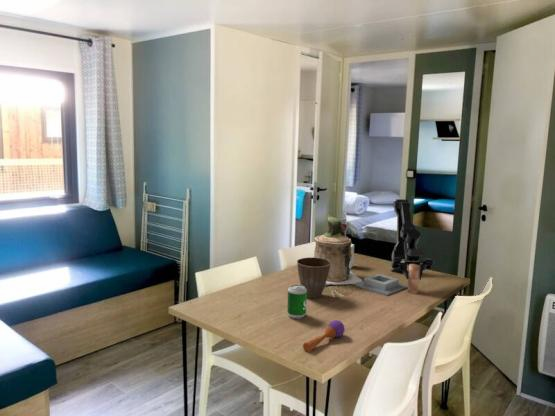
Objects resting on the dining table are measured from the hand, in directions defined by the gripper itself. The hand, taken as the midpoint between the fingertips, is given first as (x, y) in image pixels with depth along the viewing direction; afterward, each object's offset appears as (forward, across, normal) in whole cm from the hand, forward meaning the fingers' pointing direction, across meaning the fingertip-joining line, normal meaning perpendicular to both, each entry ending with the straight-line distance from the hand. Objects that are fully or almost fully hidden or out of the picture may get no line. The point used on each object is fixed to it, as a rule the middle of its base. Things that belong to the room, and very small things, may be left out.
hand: (414, 279), depth 211 cm
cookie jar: (-8, -37, +18) cm, 42 cm away
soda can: (+29, -53, -20) cm, 64 cm away
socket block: (0, -14, +10) cm, 17 cm away
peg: (+4, 0, +6) cm, 7 cm away
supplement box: (-23, -29, +33) cm, 50 cm away
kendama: (+45, -42, -35) cm, 71 cm away
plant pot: (+12, -47, -3) cm, 48 cm away
